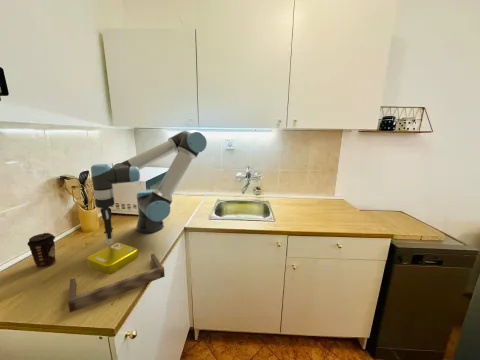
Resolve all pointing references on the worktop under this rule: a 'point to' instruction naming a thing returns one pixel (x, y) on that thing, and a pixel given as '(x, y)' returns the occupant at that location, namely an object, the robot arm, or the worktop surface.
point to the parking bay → (113, 287)
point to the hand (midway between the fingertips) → (110, 243)
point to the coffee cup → (43, 249)
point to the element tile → (112, 258)
